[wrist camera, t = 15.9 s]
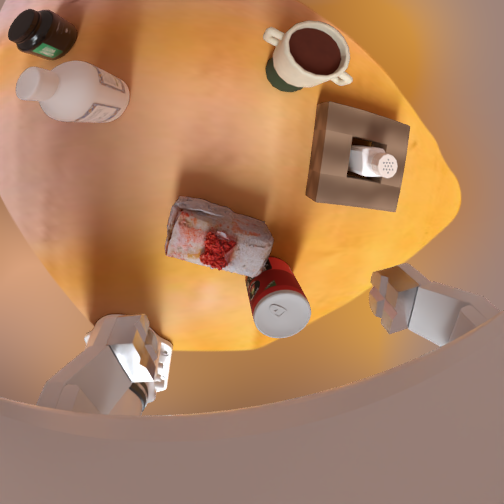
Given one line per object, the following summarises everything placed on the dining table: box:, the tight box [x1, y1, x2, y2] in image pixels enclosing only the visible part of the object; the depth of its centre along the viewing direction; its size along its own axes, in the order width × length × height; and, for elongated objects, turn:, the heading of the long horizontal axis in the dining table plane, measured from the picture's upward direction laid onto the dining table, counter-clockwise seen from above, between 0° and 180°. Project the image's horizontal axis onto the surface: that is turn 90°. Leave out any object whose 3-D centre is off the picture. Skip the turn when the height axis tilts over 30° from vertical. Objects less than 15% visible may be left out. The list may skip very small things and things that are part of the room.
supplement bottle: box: [8, 9, 77, 60], centre depth 18 cm, size 7×7×12 cm
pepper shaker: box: [348, 145, 398, 178], centre depth 34 cm, size 4×4×10 cm
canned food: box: [245, 257, 311, 338], centre depth 40 cm, size 8×8×11 cm
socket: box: [306, 101, 410, 212], centre depth 36 cm, size 14×14×4 cm
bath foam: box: [16, 61, 130, 123], centre depth 21 cm, size 7×7×20 cm
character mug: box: [263, 21, 353, 92], centre depth 26 cm, size 11×7×13 cm, turn 61°
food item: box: [165, 196, 274, 278], centre depth 36 cm, size 14×8×10 cm, turn 72°
